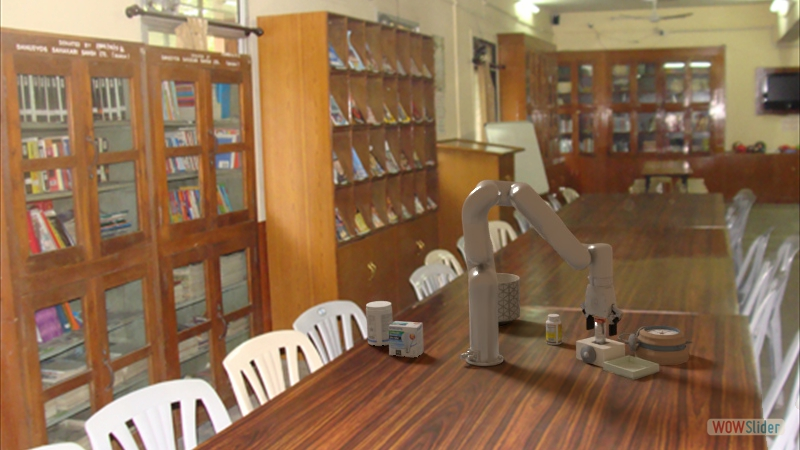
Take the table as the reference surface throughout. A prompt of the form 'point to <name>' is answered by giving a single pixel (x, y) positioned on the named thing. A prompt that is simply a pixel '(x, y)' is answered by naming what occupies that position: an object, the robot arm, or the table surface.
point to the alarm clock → (659, 345)
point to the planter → (508, 298)
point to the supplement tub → (378, 322)
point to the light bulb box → (406, 339)
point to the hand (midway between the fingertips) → (601, 332)
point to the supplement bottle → (553, 330)
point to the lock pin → (600, 331)
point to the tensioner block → (598, 351)
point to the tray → (631, 367)
